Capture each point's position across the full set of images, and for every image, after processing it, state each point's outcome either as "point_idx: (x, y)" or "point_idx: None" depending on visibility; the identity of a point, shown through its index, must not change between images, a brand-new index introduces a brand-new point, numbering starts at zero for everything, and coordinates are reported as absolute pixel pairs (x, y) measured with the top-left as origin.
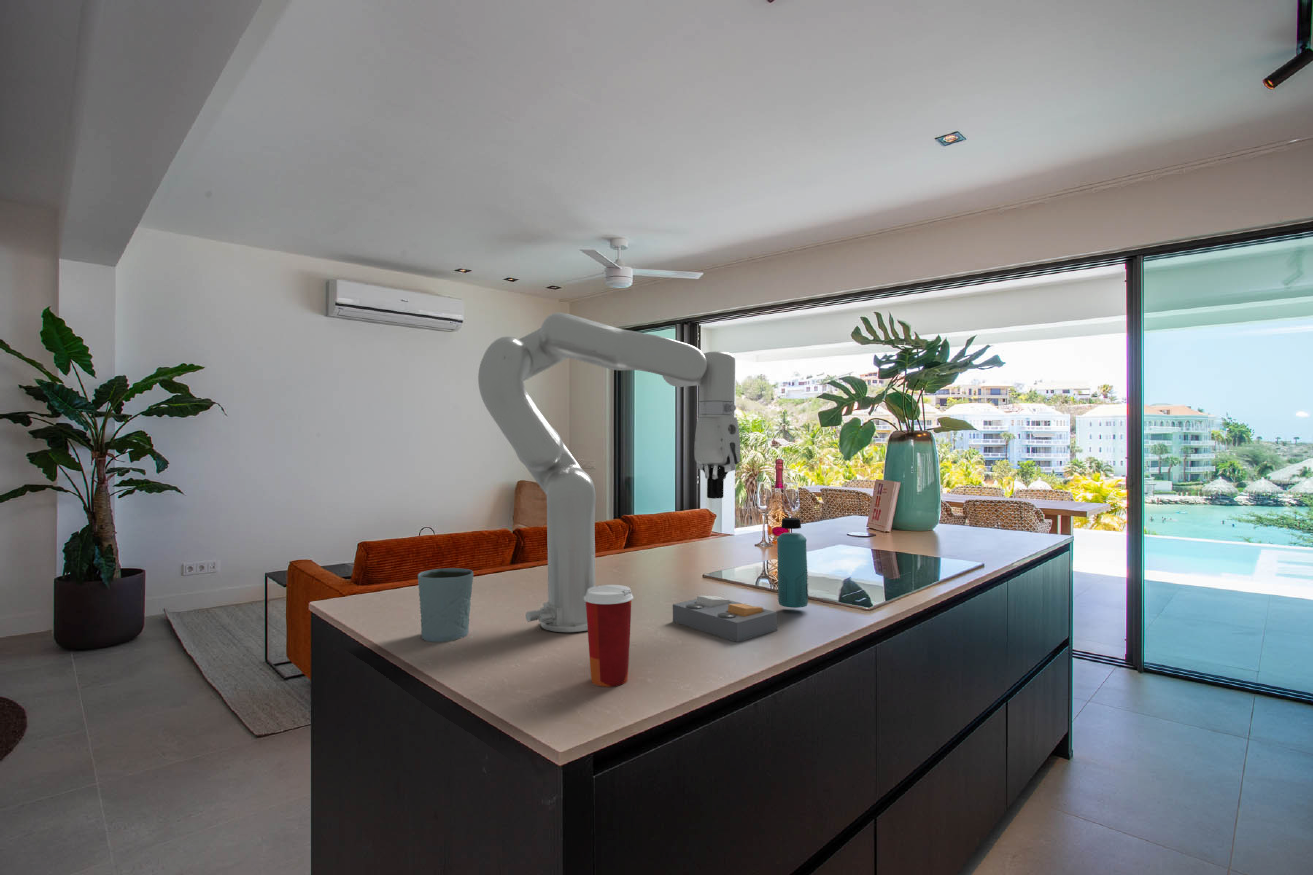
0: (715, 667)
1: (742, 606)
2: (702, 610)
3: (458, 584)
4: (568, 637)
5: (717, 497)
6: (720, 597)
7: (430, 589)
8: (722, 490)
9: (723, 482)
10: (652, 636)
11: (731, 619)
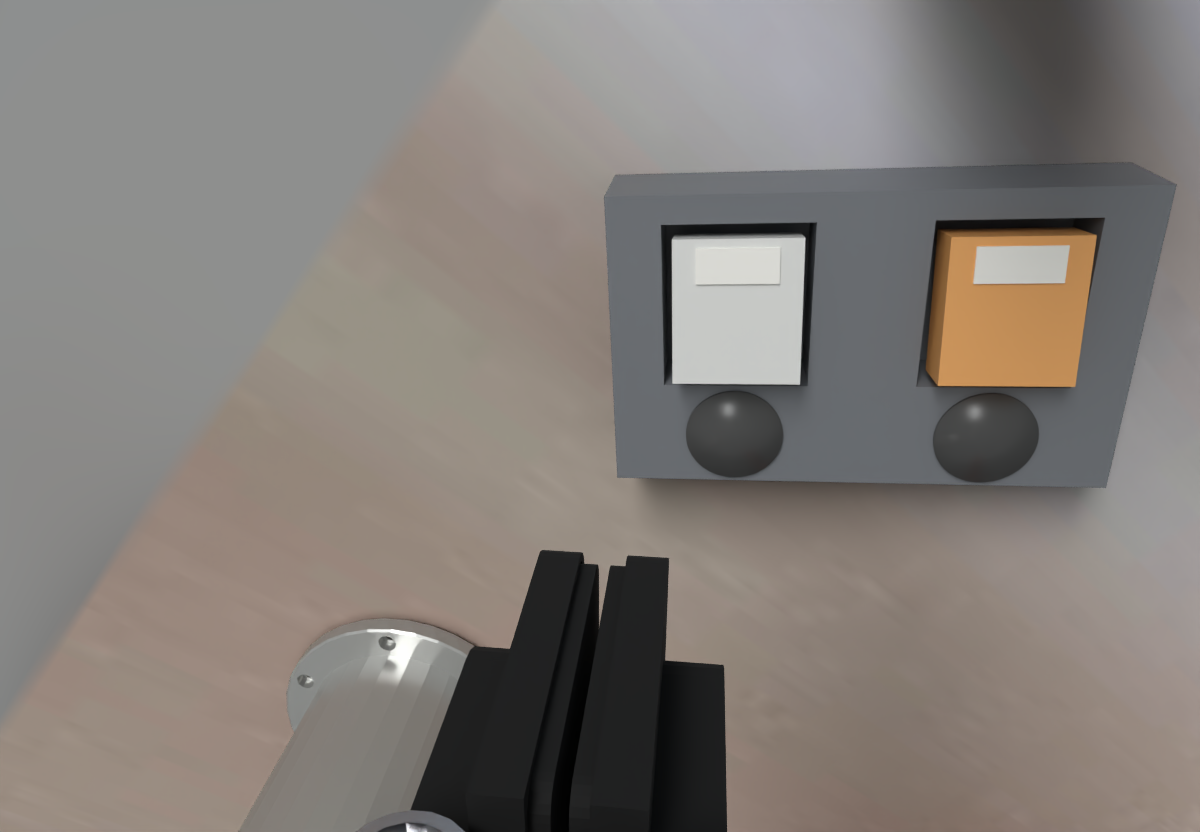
0: (1181, 683)
1: (1018, 348)
2: (815, 453)
3: None
4: None
5: (664, 660)
6: (743, 257)
7: None
8: (723, 702)
9: (654, 748)
10: (741, 615)
11: (1045, 466)
